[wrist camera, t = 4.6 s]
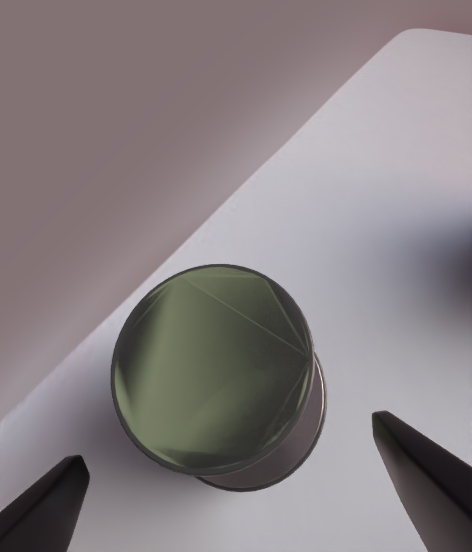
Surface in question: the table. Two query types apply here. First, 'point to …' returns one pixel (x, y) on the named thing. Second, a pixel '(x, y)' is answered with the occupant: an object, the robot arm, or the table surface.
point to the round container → (282, 447)
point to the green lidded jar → (212, 370)
